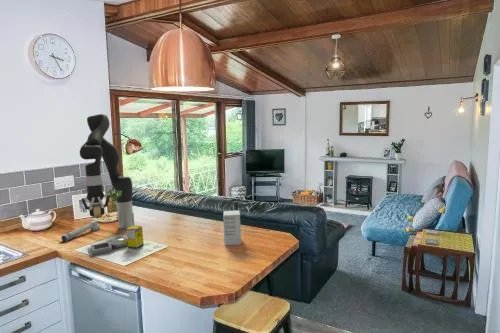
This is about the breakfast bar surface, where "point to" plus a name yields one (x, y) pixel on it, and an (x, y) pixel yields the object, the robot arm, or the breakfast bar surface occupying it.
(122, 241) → the grey slotted holder
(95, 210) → the tan grey cylinder
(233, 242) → the supplement box
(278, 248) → the breakfast bar surface
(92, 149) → the robot arm
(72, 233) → the grey long rod
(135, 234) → the supplement box
